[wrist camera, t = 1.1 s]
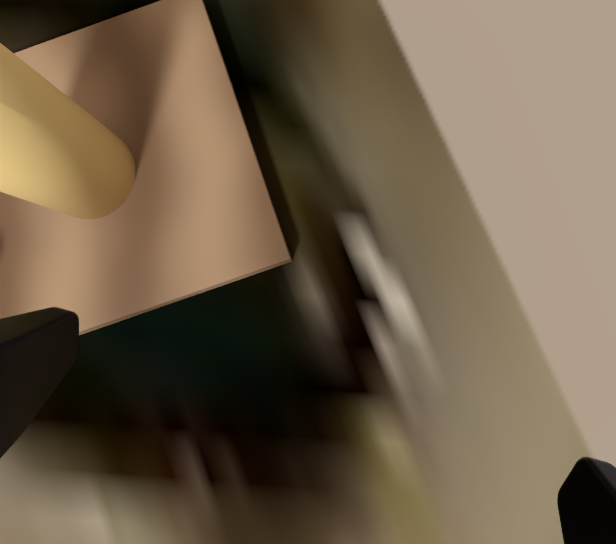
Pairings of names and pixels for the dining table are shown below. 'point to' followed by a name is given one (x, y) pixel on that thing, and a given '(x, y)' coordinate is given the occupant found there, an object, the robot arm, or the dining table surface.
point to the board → (145, 176)
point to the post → (57, 147)
